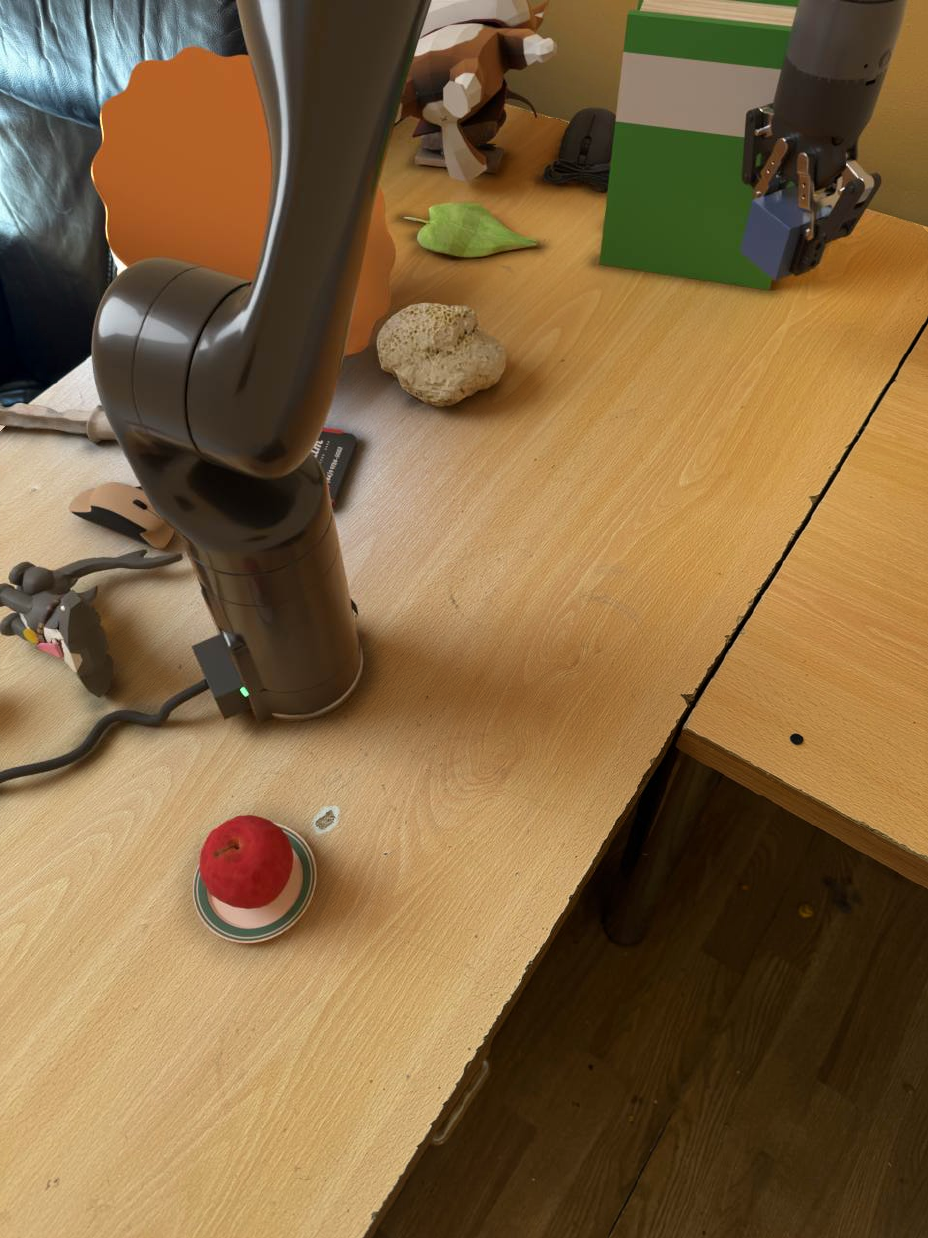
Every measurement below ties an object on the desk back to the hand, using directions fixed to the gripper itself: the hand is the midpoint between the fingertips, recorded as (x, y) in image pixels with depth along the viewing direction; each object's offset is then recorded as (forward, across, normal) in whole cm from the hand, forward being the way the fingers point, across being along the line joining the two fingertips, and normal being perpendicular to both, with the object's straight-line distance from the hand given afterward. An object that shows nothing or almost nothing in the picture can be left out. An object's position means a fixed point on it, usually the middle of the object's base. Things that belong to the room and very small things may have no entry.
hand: (779, 254), depth 83 cm
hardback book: (+10, -15, +3) cm, 18 cm away
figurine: (+10, -42, -8) cm, 44 cm away
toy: (-1, -34, -19) cm, 38 cm away
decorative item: (+10, -11, -29) cm, 32 cm away
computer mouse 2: (+10, -37, +5) cm, 38 cm away
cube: (0, 0, 0) cm, 0 cm away
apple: (+10, +27, -62) cm, 68 cm away
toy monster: (+8, -1, -71) cm, 72 cm away
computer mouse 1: (+10, -8, -59) cm, 61 cm away
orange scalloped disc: (-4, -22, -40) cm, 46 cm away
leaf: (+10, -29, -16) cm, 35 cm away
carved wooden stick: (+10, -18, -58) cm, 61 cm away
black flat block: (+9, -3, -42) cm, 43 cm away
